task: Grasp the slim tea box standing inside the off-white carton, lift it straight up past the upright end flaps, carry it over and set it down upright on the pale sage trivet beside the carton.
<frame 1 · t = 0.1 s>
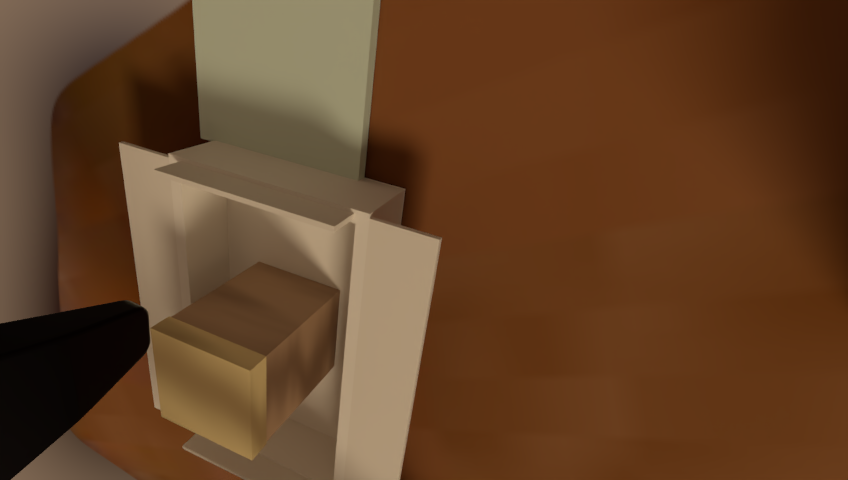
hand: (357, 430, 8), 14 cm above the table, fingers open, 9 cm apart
trivet: (284, 60, 23), on the table
carton: (303, 309, 28), on the table
tea box: (297, 314, 28), point 1 cm above the table, touching carton
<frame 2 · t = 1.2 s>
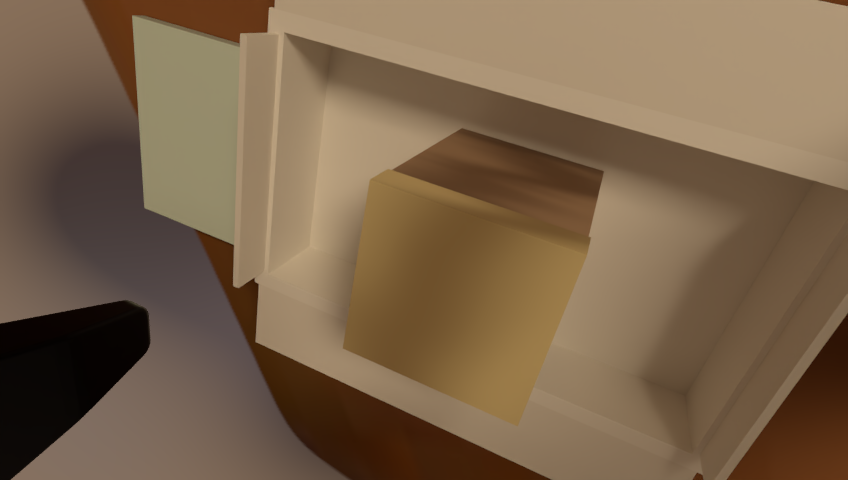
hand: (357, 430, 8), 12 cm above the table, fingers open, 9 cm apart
trivet: (227, 145, 23), on the table
carton: (513, 209, 19), on the table
tea box: (510, 214, 18), point 1 cm above the table, touching carton
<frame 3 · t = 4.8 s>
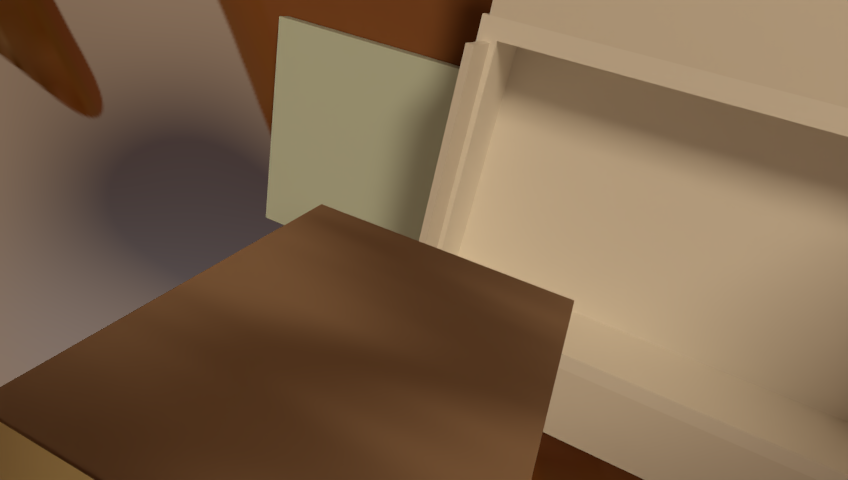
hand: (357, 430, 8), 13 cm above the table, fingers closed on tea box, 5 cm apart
trivet: (368, 155, 21), on the table
carton: (705, 233, 17), on the table
tea box: (412, 353, 10), point 11 cm above the table, touching gripper
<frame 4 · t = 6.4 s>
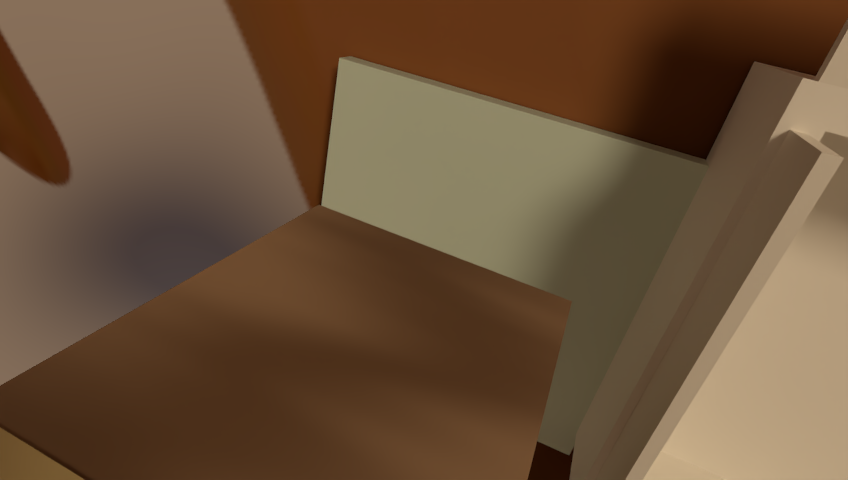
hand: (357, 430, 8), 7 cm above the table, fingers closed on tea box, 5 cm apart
trivet: (469, 262, 14), on the table
tea box: (410, 354, 10), point 5 cm above the table, touching gripper
when the fingers open (4 cm above the table, at t = 7.3 s): tea box drops 1 cm, resting on trivet.
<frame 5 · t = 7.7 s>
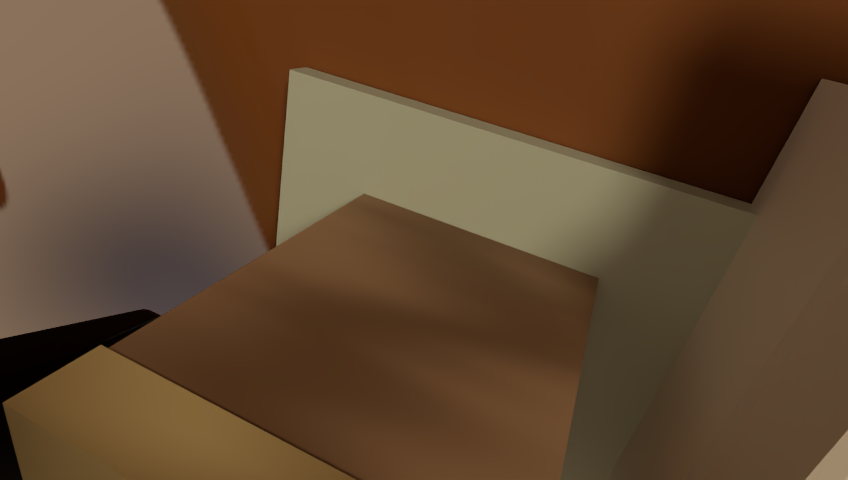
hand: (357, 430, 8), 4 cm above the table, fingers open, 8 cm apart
trivet: (452, 315, 12), on the table
tea box: (446, 331, 11), point 1 cm above the table, touching trivet
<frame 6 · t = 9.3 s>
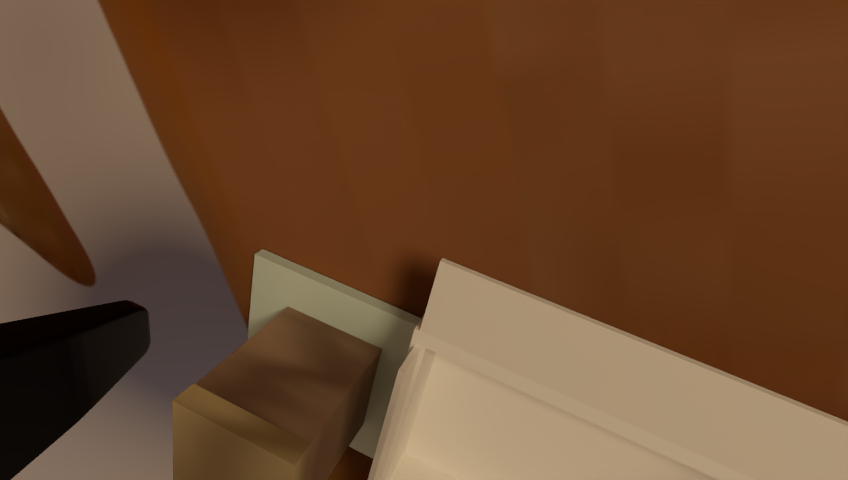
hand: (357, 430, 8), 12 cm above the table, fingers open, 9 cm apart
trivet: (331, 358, 25), on the table
carton: (599, 457, 22), on the table
tea box: (326, 366, 25), point 1 cm above the table, touching trivet
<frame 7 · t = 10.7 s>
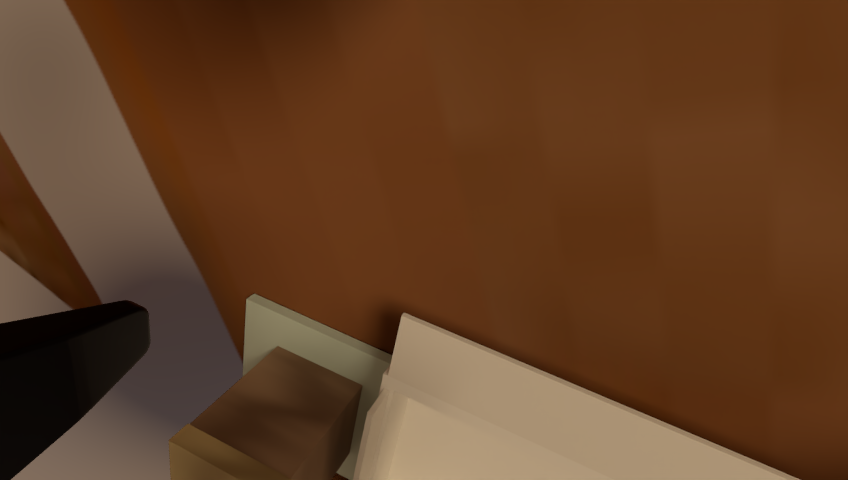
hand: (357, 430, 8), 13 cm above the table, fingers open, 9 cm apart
trivet: (319, 392, 27), on the table
tea box: (314, 400, 27), point 1 cm above the table, touching trivet
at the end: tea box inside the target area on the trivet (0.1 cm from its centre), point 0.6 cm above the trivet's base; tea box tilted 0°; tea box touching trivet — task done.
